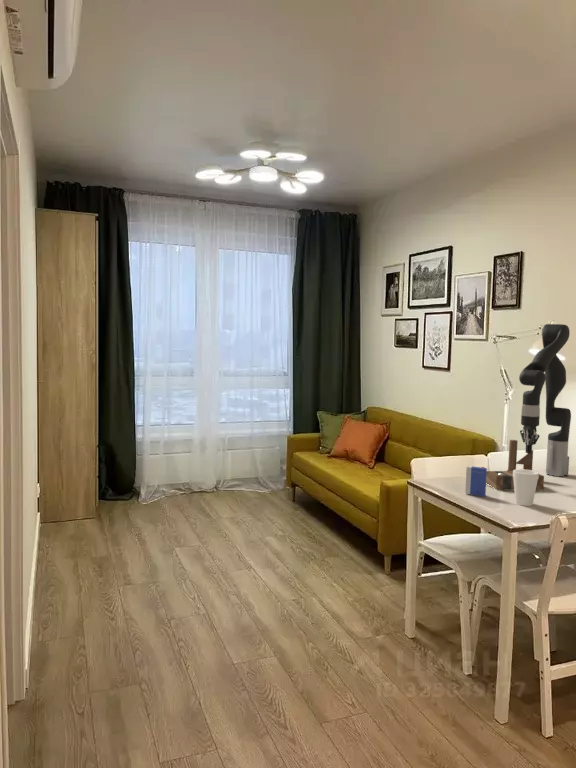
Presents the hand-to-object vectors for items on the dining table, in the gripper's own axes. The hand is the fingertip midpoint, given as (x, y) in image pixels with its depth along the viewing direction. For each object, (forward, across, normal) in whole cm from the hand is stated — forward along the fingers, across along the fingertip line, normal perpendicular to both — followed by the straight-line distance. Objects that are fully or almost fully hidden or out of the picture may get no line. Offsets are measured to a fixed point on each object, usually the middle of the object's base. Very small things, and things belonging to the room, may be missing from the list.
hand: (528, 453), depth 263 cm
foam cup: (+15, -27, +16) cm, 35 cm away
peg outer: (+15, 0, +12) cm, 19 cm away
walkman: (+15, -13, +30) cm, 36 cm away
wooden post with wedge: (+16, +16, -5) cm, 23 cm away
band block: (+15, 0, +6) cm, 16 cm away
